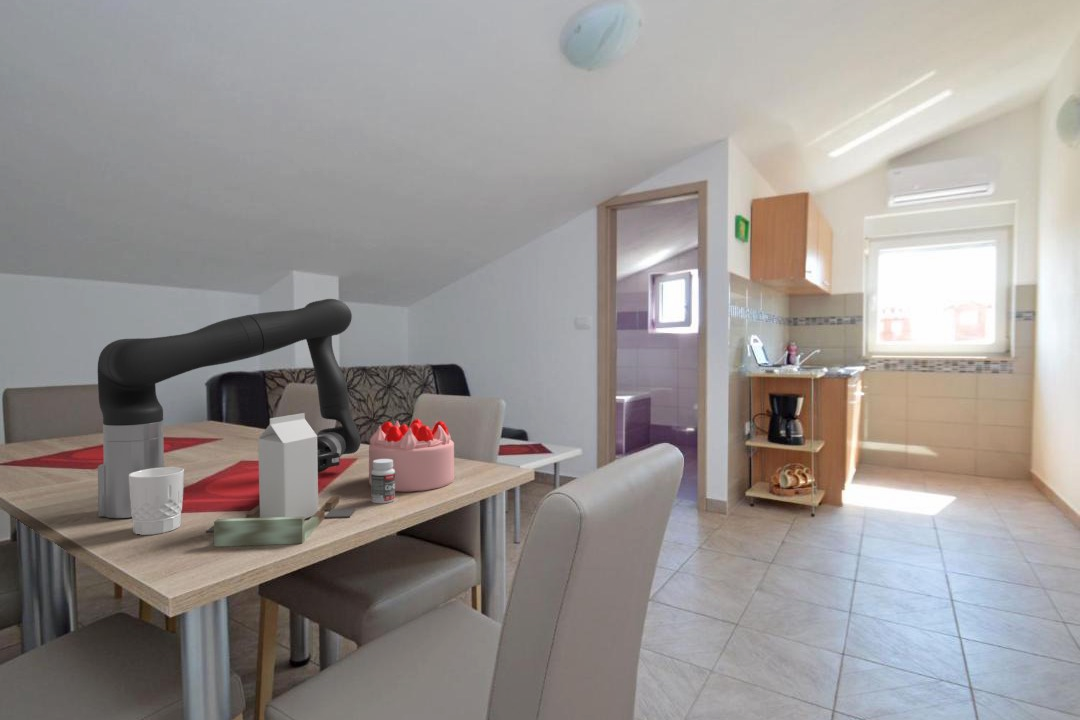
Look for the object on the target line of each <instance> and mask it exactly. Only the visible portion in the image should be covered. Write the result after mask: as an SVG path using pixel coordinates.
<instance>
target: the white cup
mask: <svg viewBox="0 0 1080 720" xmlns="http://www.w3.org/2000/svg"><path fill="white" fill-rule="evenodd" d="M184 478H185V469H184V468H182V467H177V466H174V467H173V466H165V467H162V468H152V469H145V470H140V471H136V472H133V473H131V474H129V490H130V505H131V515H132V517H131V519H132V533H134V534H135V535H137V534H140V535H139V536H151V535H153V536H154V535H158V534H165V533H168V532H171V531H174V530H176V529H178V528H180V526H181V524H182V511H183V500H184V499H183V498H184Z"/></svg>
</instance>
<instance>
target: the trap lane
mask: <svg viewBox="0 0 1080 720" xmlns="http://www.w3.org/2000/svg"><path fill="white" fill-rule="evenodd" d="M339 498H340V495H338V494H336V495H331V497H330V498H328V500H327V501H325V503H324V504H325V505H324V506H325V507H324V509H325V510H322V509H321V510H318V511H317V512H316V513H315V514H314V515H313V516H311V517H309V518H308V520H307V521H305V520H306V519H305V517H272V518H260V504H259V505H257V506H255V507H254V508H253V509H251V510H250V511H248V512H247V513H246V514H245V517H244V518H243V517H242V518H240V517H239V518H219V519H218V518H217V519H216V520H215V521H213V526H214V532H213V540H214V543H213V546H214V547H236V546H237V547H238V546H242V545H243V546H264V545H265V546H266V545H269V546H270V545H291V544H292V545H293V544H303V543H304V542H305V541H306V540H307V539H308V538H309V537H310V535H312V533H313V532H314V531H315V529H317V528H318V527H319V525H320V524H321V523H322V522H323V521H324V520H325V519H326V518H325V516H326V514H325V513H326V512H325V511H328V512H329V511H330V510H331V509H335V508H336V506H337V505H338V504H339V501H340V499H339Z"/></svg>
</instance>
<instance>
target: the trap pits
mask: <svg viewBox="0 0 1080 720" xmlns="http://www.w3.org/2000/svg"><path fill="white" fill-rule="evenodd" d="M355 511H356V507H353V508H352V507H350V508H348V507H347V508H333V509H331V510H330V511H328V512H327V514H325V519H345V518H346V519H347V518H351V517H350V516H353V514H354V513H355ZM205 533H211V534H212V533H213V534H214V525H213V526H211V527H209V528H208V529H207V530H205Z"/></svg>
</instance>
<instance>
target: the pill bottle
mask: <svg viewBox="0 0 1080 720" xmlns="http://www.w3.org/2000/svg"><path fill="white" fill-rule="evenodd" d="M392 467H393V460H392V459H378V460H374V461H373V468H374V470H372V472H371V485H370V487H371V489H370V490H371V491H370V493H371V496H370V497H371V498H370V500H371V502H372V503H375V504H388V503H392V502H394V501H395V500H396V492H395V470H394V469H393V468H392Z"/></svg>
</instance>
